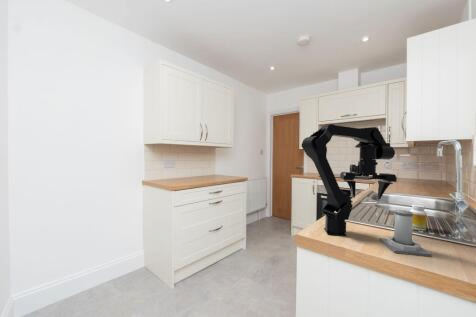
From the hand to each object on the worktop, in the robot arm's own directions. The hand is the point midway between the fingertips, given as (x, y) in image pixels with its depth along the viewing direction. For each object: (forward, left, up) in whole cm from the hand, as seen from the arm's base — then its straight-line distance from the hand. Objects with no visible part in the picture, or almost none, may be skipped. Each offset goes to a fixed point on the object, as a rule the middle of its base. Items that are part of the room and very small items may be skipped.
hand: (366, 198), depth 83 cm
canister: (+6, -15, -12) cm, 20 cm away
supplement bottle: (+23, +8, -13) cm, 28 cm away
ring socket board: (+6, -15, -13) cm, 20 cm away
